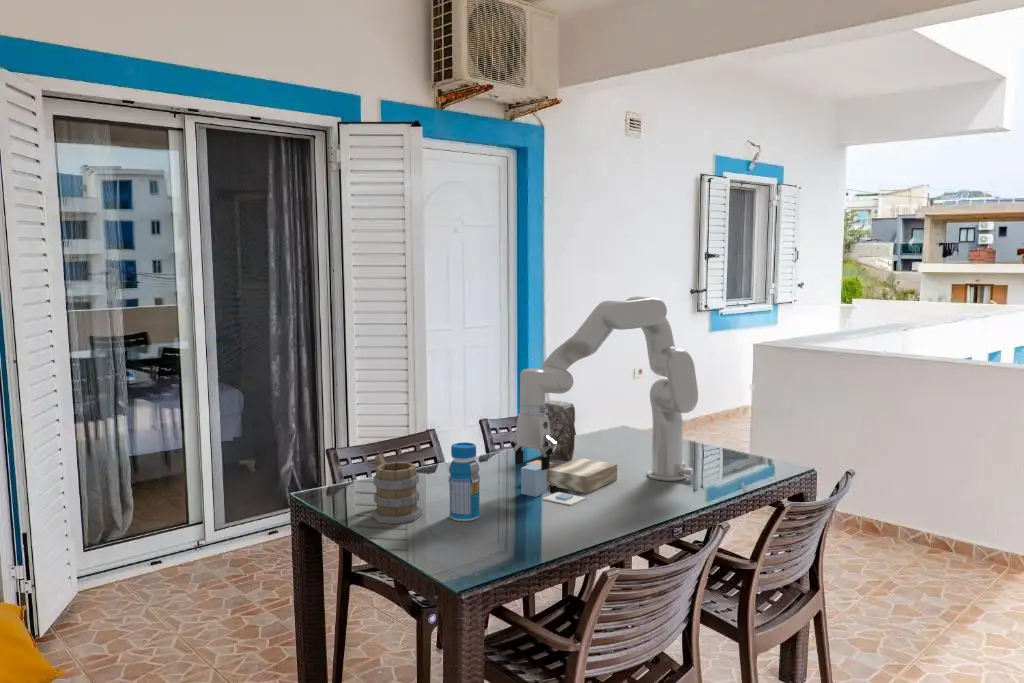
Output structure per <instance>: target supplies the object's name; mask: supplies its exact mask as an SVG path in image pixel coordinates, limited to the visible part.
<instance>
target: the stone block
mask: <svg viewBox="0 0 1024 683" xmlns="http://www.w3.org/2000/svg"><path fill="white" fill-rule="evenodd" d="M545 408H547V409H548V412H547V413H545V415H547V416H548V420H549V426H550V438H552V439H553V440H554V441H555V442H557V446H556V448H555V451H554V452H553V453H552V455H551V456H550V457H553V458H552V459H554V458H557V459H556V460H559V459H560V461H564V462H570V461H572V459H573V456H574V451H575V438H576V436H575V435H576V430H575V422H576V410H575V405H574V404H573V403H571V402H567V401H561V400H560V401H559V400H555V399H554V400H551V399H550V400H545ZM548 448H549V449H550V447H548ZM540 453H541V452H540ZM541 456H542V453H541Z"/></svg>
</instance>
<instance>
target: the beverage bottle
mask: <svg viewBox="0 0 1024 683" xmlns="http://www.w3.org/2000/svg"><path fill="white" fill-rule="evenodd" d="M450 455H451V458H452V461H451V463H450V465H449V468H448V473H449V474H450V475H449V476H448V483H449V484H448V486H449V488H448V489H449V518H451V519H452V520H453V521H457V522H470V521H474V520H477V519H479V518H480V516H481V515H480V514H481V512H480V511H481V510H480V481H481V477H480V474H479V472H480V467H479V464H478V462H477V460H476V459H475V458H476V457H477V445H476V444H475V443H472V442H457V443H453V444H451V447H450Z"/></svg>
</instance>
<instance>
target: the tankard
mask: <svg viewBox="0 0 1024 683" xmlns="http://www.w3.org/2000/svg"><path fill="white" fill-rule="evenodd" d="M374 460H375V463H376V464H377V463H378V466H376V467H375V475H374V476H373V485H374V486H375V488H376V492H375V493H374V494H373V502H374V503H375V504H376V508H375V509H374V510H372V512H371V517H372V518H373V519H374V520H375V521H377V523H378V524H379V523H380V524H390V525H398V524H405V523H410V522H415V521H416V520H417V519H418V518H420V516H422V515H423V509H422V508H421V507H420V506H418V501H419V500H420V492H419V491H418V490H417V485H418V484H419V483H420V478H419V475H420V474H418V473H417V466H416V464H413V463H412V462H407V461H393V462H392V461H391V462H386V461H385V459H384V457H383V455H382V454H380V453H379V454H377V455H376V456H375V457H374Z"/></svg>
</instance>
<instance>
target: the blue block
mask: <svg viewBox="0 0 1024 683" xmlns="http://www.w3.org/2000/svg"><path fill="white" fill-rule="evenodd" d="M547 484H548V483H547V469H546V470H542V469H541V465H536V464H530V465H527V466H526V465H525V466H522V467H521V468H520V494H522V495H526V496H531V497H535V498H537V497H539V496H542V495H543V494H544V495H545V494H546V492H548V491H547V490H548V489H547V488H548V486H547ZM541 494H542V495H541Z"/></svg>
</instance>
